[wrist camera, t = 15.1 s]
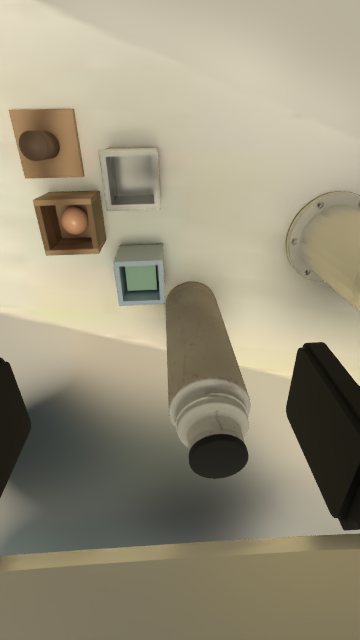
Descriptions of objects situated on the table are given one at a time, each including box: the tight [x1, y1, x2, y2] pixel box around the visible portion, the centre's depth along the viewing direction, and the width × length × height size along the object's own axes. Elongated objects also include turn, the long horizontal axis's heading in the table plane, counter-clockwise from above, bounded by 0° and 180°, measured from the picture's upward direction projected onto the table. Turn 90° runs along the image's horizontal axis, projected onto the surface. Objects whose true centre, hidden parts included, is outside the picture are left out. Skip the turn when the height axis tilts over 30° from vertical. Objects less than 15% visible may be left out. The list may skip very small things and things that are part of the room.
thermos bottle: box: [166, 282, 250, 479], centre depth 38 cm, size 8×8×28 cm
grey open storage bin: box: [99, 147, 160, 211], centre depth 37 cm, size 6×6×7 cm
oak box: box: [33, 191, 106, 255], centre depth 40 cm, size 6×6×6 cm
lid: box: [9, 109, 84, 178], centre depth 36 cm, size 7×7×6 cm
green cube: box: [125, 265, 157, 291], centre depth 44 cm, size 4×4×4 cm
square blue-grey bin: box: [113, 244, 165, 306], centre depth 43 cm, size 6×6×7 cm
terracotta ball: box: [61, 207, 89, 235], centre depth 40 cm, size 3×3×3 cm
